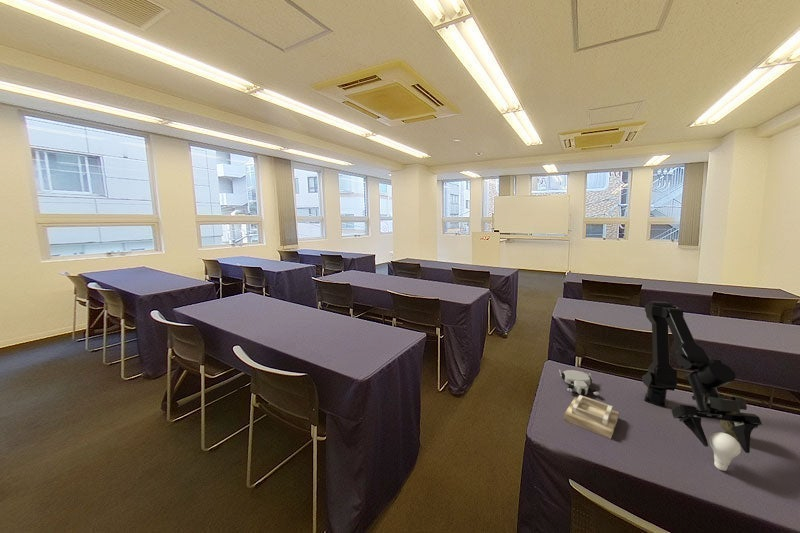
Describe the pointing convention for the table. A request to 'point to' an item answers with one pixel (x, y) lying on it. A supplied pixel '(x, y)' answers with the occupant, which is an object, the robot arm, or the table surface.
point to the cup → (728, 426)
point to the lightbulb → (724, 449)
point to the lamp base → (592, 416)
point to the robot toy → (578, 382)
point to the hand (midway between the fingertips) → (726, 449)
